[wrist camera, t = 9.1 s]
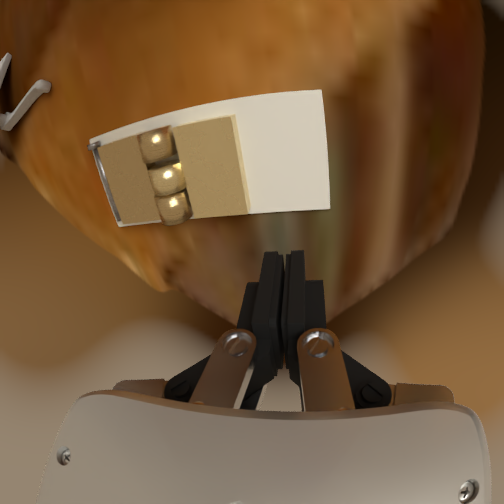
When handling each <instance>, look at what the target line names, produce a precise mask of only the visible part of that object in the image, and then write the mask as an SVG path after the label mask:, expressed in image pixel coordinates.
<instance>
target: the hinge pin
mask: <svg viewBox="0 0 504 504" xmlns="http://www.w3.org/2000/svg"><path fill="white" fill-rule="evenodd" d="M100 146H101V143H100V140H99V141H97V142H94V143H92V144H89V145H87V147H88V151H90V150H92V149H93V152H94V155H95V159H96V162H97V165H98V168H99V171H100V174H101V178H102V181H103V183H104V186H105V189H106V192H107V195H108V198H109V201H110V203H111V206H112V209H113V212H114V214H115V217H116V219H117V222H119V221H122V220H121V218H120V215H119V212H118V210H117V207H116V204H115V201H114V199H113V196H112V193H111V190H110V187H109V184H108V181H107V178H106V175H105V172H104V169H103V166H102V162H101V159H100V156H99V152H98V149H97V148H98V147H100Z"/></svg>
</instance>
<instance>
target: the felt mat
mask: <svg viewBox="0 0 504 504" xmlns="http://www.w3.org/2000/svg"><path fill="white" fill-rule="evenodd" d="M232 114H235V115H236V121H237V127H238V133H239V138H240V144H241V150H242V156H243V162H244V168H245V173H246V179H247V185H248V191H249V197H250V203H251V207H250V210H249V213H248V214H254V213H268V212H283V211H300V210H319V209H330V191H329V169H328V153H327V140H326V128H325V117H324V108H323V99H322V90H306V91H292V92H281V93H271V94H263V95H255V96H248V97H241V98H235V99H229V100H224V101H218V102H213V103H208V104H203V105H199V106H194V107H190V108H186V109H182V110H178V111H174V112H170V113H166V114H163V115H159V116H156V117H152V118H149V119H146V120H142V121H139V122H136V123H133V124H130V125H127V126H124V127H121V128H118V129H115V130H113V131H110V132H107V133H105V134H102V135H99V136H97V137H94V138H92V139H90V144H92V143H94V142H97V141H99V140H100V143H101V146H102V145H104V144H106V143H109V142H112V141H115V140H118V139H121V138H124V137H127V136H130V135H133V134H137V133H140V132H143V131H148V130H151V129H154V128H158V127H161V126H165V125H171V126H172V128H173V127H175V126H178V125H180V124H184V123H189V122H194V121H198V120H203V119H209V118H214V117H220V116H226V115H232ZM172 131H173V130H172ZM173 135H174V134H173ZM174 139H175V138H174ZM92 151H93V149H92ZM177 152H178V151H177ZM93 154H94V152H93ZM94 158H95V155H94ZM175 159H179V155H178V153H177V154H175V155H173V156H171V157H168V158H166V159H163V160H160V161H156V162H155V163H156V165H157V164H160V163H163V162H166V161H170V160H175ZM95 161H96V159H95ZM96 164H97V162H96ZM97 167H98V165H97ZM98 171H99V168H98ZM99 174H100V171H99ZM100 177H101V174H100ZM101 180H102V178H101ZM102 183H103V181H102ZM103 186H104V183H103ZM104 189H105V186H104ZM105 191H106V189H105ZM106 194H107V192H106ZM107 197H108V195H107ZM108 200H109V198H108ZM109 203H110V201H109ZM110 205H111V203H110ZM111 208H112V206H111ZM112 211H113V209H112ZM113 213H114V212H113ZM114 216H115V214H114ZM115 219H116V217H115ZM190 219H195V218H194V214H193V216H192V217H191V218H190ZM116 221H117V219H116ZM157 222H161V220H155V221H146V222H138V223H130V224H123V223H122V221H119V222H117V224H118V226H119V227H123V226H131V225H139V224H148V223H157Z"/></svg>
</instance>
